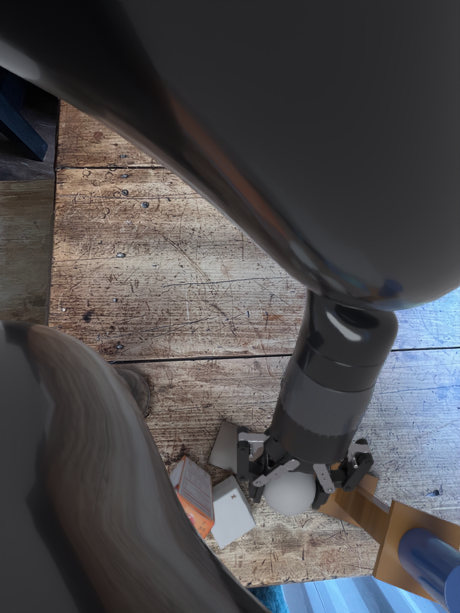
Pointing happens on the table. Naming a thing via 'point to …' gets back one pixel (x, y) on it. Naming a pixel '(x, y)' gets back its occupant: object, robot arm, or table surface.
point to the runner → (229, 449)
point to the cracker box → (194, 494)
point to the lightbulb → (290, 493)
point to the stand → (387, 528)
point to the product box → (230, 512)
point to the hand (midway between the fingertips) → (285, 498)
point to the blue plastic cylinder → (432, 566)
